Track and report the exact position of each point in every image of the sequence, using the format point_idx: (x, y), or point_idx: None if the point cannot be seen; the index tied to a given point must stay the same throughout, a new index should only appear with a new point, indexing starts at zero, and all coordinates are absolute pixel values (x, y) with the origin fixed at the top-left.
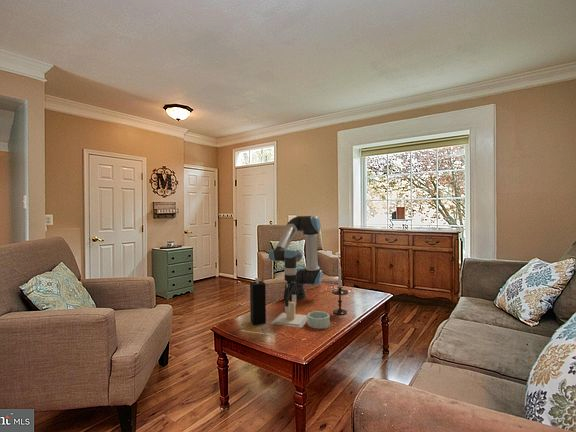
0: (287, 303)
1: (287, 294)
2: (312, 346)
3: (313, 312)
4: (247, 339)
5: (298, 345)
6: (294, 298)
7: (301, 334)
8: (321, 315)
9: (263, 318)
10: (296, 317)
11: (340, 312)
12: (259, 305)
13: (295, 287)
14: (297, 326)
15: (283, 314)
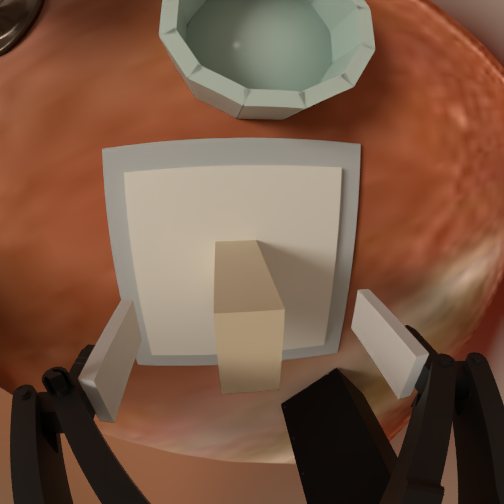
0: (428, 344)
1: (500, 411)
2: (490, 80)
3: (201, 66)
4: (464, 340)
5: (498, 137)
6: (116, 361)
7: (427, 134)
8: (181, 16)
9: (354, 396)
10: (204, 237)
11: (21, 6)
12: (392, 460)
13: (44, 478)
14: (351, 179)
15: (183, 344)
